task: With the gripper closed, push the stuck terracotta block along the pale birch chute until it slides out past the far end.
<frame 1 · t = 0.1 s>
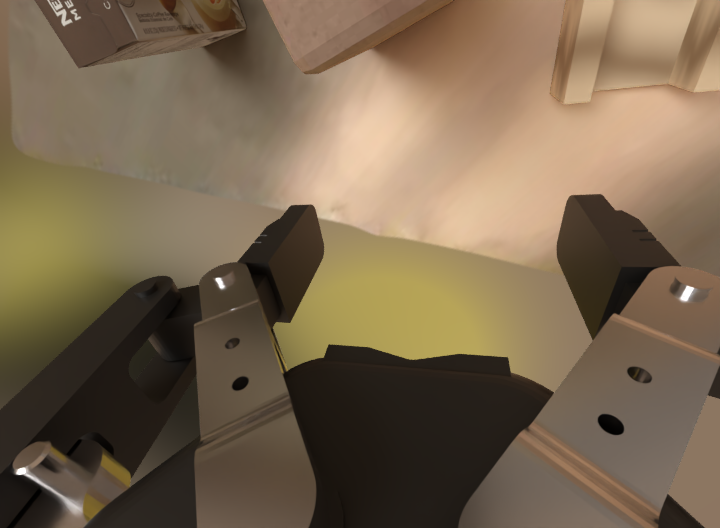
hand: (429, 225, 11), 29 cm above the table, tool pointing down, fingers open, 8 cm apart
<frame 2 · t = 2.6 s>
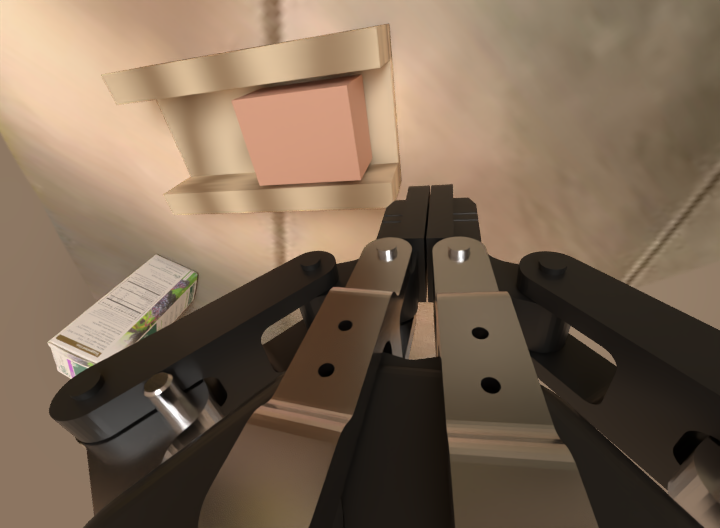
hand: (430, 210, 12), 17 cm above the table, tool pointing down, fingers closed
chute: (278, 124, 28), on the table
syrup box: (176, 276, 43), on the table
jammed block: (308, 132, 25), point 4 cm above the table, slide at 0.0 cm
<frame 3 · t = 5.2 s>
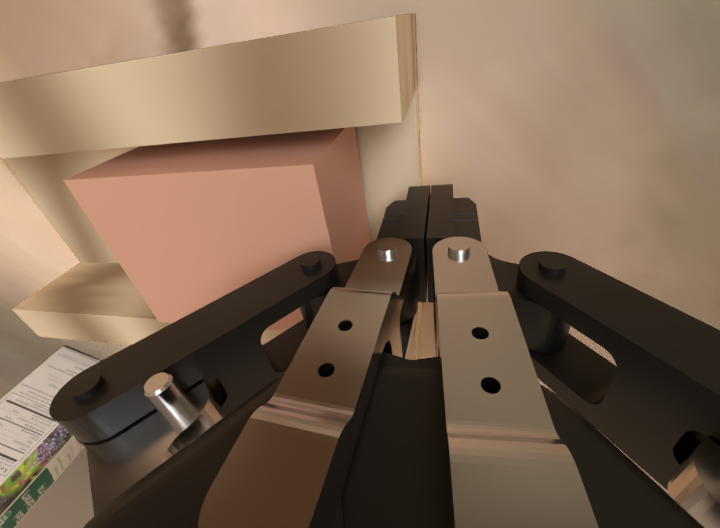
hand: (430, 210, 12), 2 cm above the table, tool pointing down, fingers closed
chute: (210, 192, 16), on the table
syrup box: (98, 370, 31), on the table
jammed block: (248, 228, 12), point 3 cm above the table, slide at 0.1 cm, touching gripper
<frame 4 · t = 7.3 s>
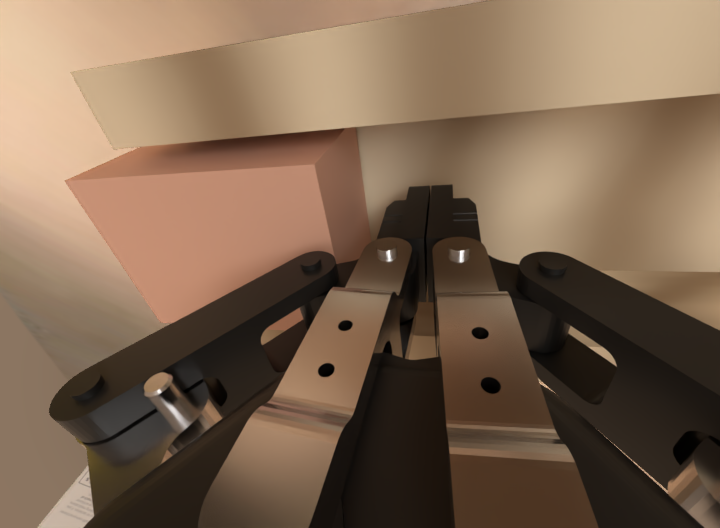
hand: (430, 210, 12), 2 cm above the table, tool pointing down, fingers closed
chute: (459, 181, 13), on the table
syrup box: (204, 383, 28), on the table
jammed block: (249, 228, 13), point 3 cm above the table, slide at 11.6 cm, touching gripper
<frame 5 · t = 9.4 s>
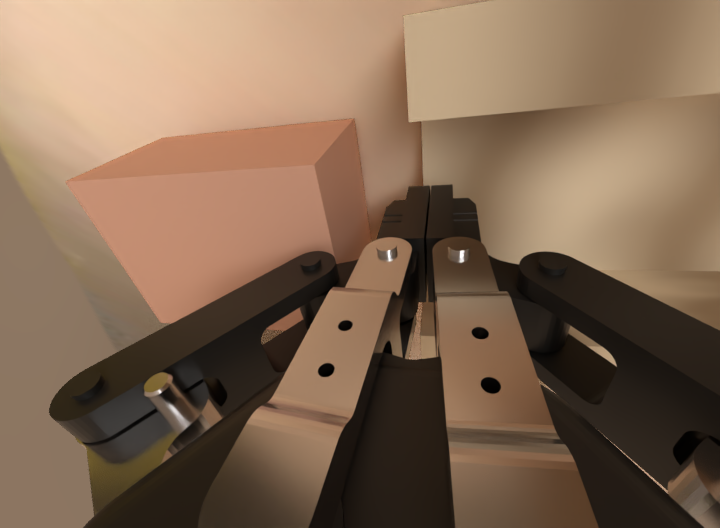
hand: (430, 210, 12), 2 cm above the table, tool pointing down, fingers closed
jammed block: (249, 228, 13), point 4 cm above the table, slide at 20.2 cm, touching gripper
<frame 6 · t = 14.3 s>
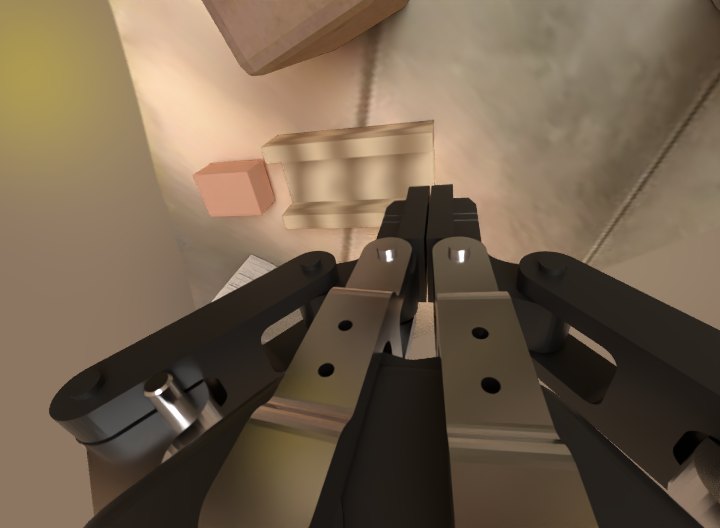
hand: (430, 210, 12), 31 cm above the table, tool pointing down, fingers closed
chute: (357, 171, 45), on the table
syrup box: (262, 270, 60), on the table
jammed block: (235, 188, 46), point 3 cm above the table, slide at 20.5 cm
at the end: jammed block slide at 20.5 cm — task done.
